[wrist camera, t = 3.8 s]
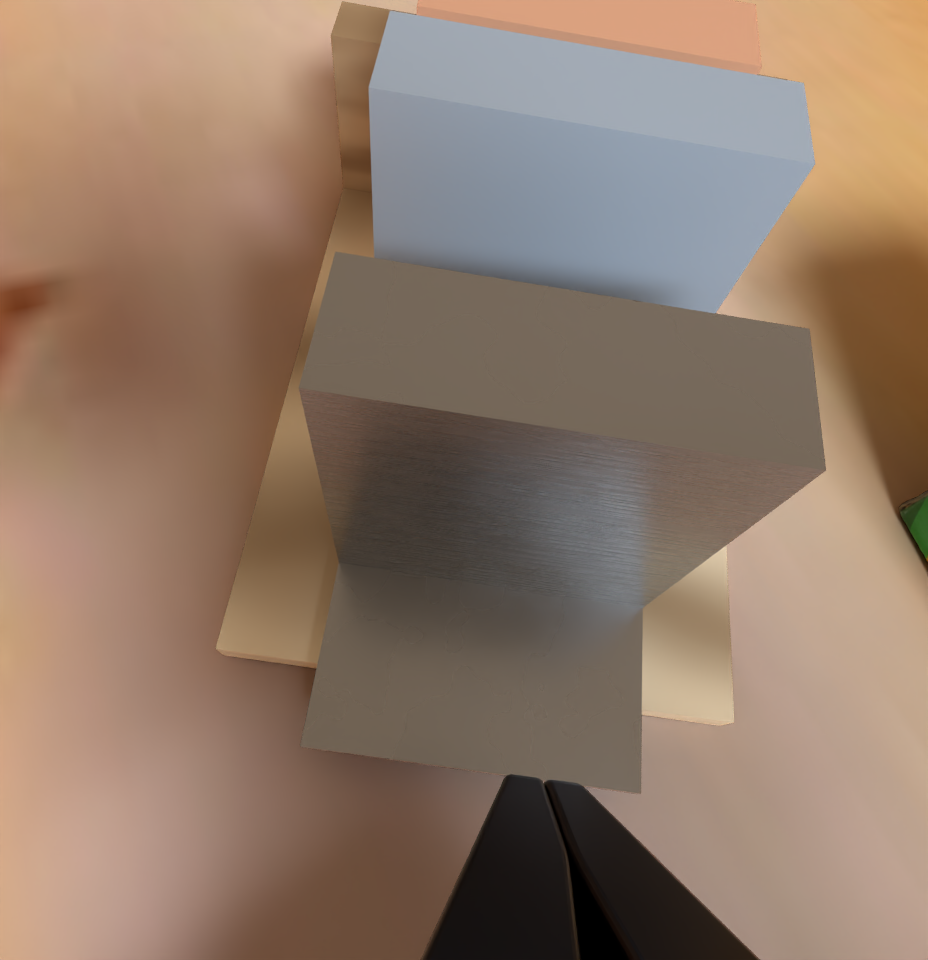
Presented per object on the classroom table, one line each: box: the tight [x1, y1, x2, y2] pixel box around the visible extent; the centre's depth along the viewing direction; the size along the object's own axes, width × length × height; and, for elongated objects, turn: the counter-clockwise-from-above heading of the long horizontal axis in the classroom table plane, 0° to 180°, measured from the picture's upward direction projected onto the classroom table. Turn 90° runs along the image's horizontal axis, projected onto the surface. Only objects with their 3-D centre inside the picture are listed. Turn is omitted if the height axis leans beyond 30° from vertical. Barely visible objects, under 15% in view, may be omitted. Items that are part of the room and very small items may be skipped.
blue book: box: [369, 11, 815, 313], centre depth 19 cm, size 2×9×11 cm, turn 83°
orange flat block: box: [417, 0, 762, 75], centre depth 21 cm, size 2×8×10 cm, turn 83°
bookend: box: [299, 252, 826, 794], centre depth 16 cm, size 8×9×10 cm
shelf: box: [215, 1, 787, 726], centre depth 22 cm, size 20×15×7 cm
